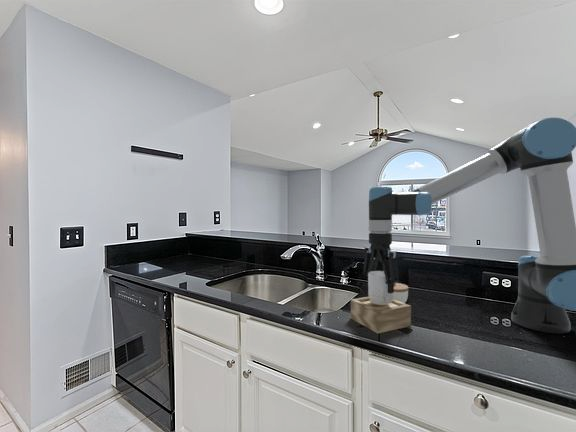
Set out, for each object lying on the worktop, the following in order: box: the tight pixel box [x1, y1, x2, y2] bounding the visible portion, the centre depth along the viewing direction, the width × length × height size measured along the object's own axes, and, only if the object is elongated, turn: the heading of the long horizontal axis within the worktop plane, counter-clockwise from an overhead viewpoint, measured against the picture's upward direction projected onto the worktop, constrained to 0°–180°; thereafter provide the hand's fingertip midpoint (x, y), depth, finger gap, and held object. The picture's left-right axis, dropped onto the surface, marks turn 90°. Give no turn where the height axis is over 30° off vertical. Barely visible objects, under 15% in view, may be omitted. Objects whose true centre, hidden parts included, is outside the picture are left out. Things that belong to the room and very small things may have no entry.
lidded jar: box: [393, 282, 410, 304], centre depth 120 cm, size 11×11×9 cm
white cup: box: [367, 270, 390, 305], centre depth 102 cm, size 8×8×10 cm
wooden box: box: [350, 296, 412, 334], centre depth 102 cm, size 14×14×7 cm
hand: (380, 298), depth 102 cm, fingers closed on white cup, 7 cm apart
